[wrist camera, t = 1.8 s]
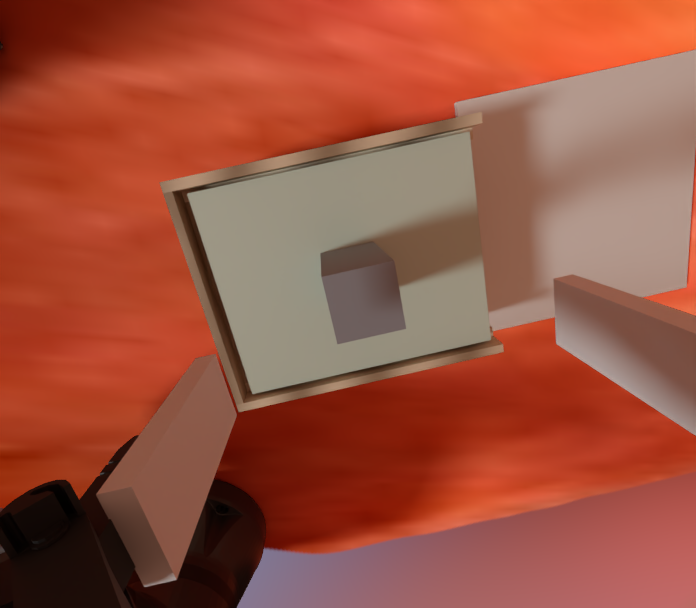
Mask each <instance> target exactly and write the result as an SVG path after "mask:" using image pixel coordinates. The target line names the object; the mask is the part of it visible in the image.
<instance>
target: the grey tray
mask: <svg viewBox="0 0 696 608" xmlns="http://www.w3.org/2000/svg"><path fill="white" fill-rule="evenodd" d="M454 107H455V116H456V117H461V116H465V115H470V114H474V113H479V112H482V122H483V123H482V124H479V125H477V126H474V127H472V131H473V139H472V140H471V148H472V158H473V168H474V178H475V187H476V197H477V207H478V217H479V226H480V236H481V246H482V255H483V265H484V275H485V285H486V294H487V304H488V314H489V324H490V326H491V327H492V330H493V331H496V330H500V329H505V328H509V327H514V326H518V325H522V324H527V323H531V322H536V321H540V320H544V319H549V318H553V317H555V306H554V283H553V279H554V278H558V277H563V276H567V275H572V274H574V275H577V276H580V277H583V278H585V279H588V280H591V281H594V282H597V283H600V284H603V285H606V286H609V287H612V288H615V289H618V290H621V291H624V292H627V293H630V294H633V295H636V296H638V297H646V296H650V295H655V294H659V293H663V292H668V291H672V290H677V289H681V288H685V287H687V272H688V257H689V242H690V226H691V211H692V195H693V180H694V165H695V149H696V50H692V51H688V52H683V53H679V54H674V55H669V56H665V57H660V58H656V59H651V60H647V61H642V62H637V63H633V64H628V65H624V66H619V67H615V68H610V69H606V70H601V71H596V72H592V73H587V74H583V75H578V76H574V77H569V78H564V79H560V80H555V81H551V82H546V83H542V84H537V85H532V86H528V87H523V88H519V89H514V90H510V91H505V92H500V93H496V94H491V95H487V96H482V97H478V98H473V99H468V100H464V101H459V102H456V103H454Z"/></svg>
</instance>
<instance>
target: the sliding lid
mask: <svg viewBox="0 0 696 608" xmlns="http://www.w3.org/2000/svg"><path fill="white" fill-rule="evenodd" d="M187 196H188V199H189V202H190V205H191V208H192V211H193V214H194V217H195V221H196V224H197V227H198V230H199V233H200V236H201V239H202V242H203V245H204V248H205V251H206V254H207V257H208V260H209V263H210V266H211V269H212V273H213V276H214V279H215V282H216V285H217V288H218V291H219V294H220V297H221V300H222V303H223V306H224V309H225V312H226V315H227V318H228V321H229V325H230V328H231V331H232V334H233V337H234V340H235V343H236V346H237V349H238V352H239V355H240V358H241V361H242V364H243V367H244V370H245V373H246V377H247V380H248V383H249V386H250V389H251V392H252V394H256V393H260V392H264V391H269V390H273V389H278V388H282V387H286V386H291V385H295V384H299V383H304V382H308V381H313V380H317V379H321V378H326V377H330V376H335V375H339V374H343V373H348V372H352V371H357V370H361V369H365V368H370V367H374V366H379V365H383V364H387V363H392V362H396V361H401V360H405V359H409V358H414V357H418V356H423V355H427V354H431V353H436V352H440V351H445V350H449V349H453V348H458V347H462V346H467V345H471V344H475V343H480V342H484V341H489V340H491V335H490V325H489V315H488V306H487V296H486V286H485V277H484V267H483V257H482V247H481V238H480V228H479V218H478V208H477V199H476V189H475V179H474V170H473V160H472V150H471V140H470V131H469V132H465V133H460V134H456V135H451V136H446V137H442V138H437V139H433V140H428V141H424V142H419V143H415V144H410V145H406V146H401V147H396V148H392V149H387V150H383V151H378V152H374V153H369V154H365V155H360V156H356V157H351V158H346V159H342V160H337V161H333V162H328V163H324V164H319V165H315V166H310V167H306V168H301V169H296V170H292V171H287V172H283V173H278V174H274V175H269V176H265V177H260V178H256V179H251V180H246V181H242V182H237V183H233V184H228V185H224V186H219V187H215V188H210V189H206V190H201V191H196V192H192V193H187Z"/></svg>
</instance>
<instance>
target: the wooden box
mask: <svg viewBox="0 0 696 608" xmlns="http://www.w3.org/2000/svg"><path fill="white" fill-rule="evenodd" d="M482 123H483V122H482V112H479V113H474V114H470V115H465V116H461V117H456V118H451V119H447V120H442V121H438V122H433V123H429V124H424V125H420V126H415V127H410V128H406V129H401V130H397V131H392V132H388V133H383V134H379V135H374V136H369V137H365V138H360V139H356V140H351V141H347V142H342V143H338V144H333V145H328V146H324V147H319V148H315V149H310V150H306V151H301V152H297V153H292V154H287V155H283V156H278V157H274V158H269V159H265V160H260V161H256V162H251V163H246V164H242V165H237V166H233V167H228V168H224V169H219V170H214V171H210V172H205V173H201V174H196V175H192V176H187V177H183V178H178V179H173V180H169V181H164V182H160V186H161V189H162V191H163V194H164V197H165V200H166V203H167V206H168V209H169V212H170V215H171V218H172V220H173V223H174V226H175V229H176V232H177V235H178V238H179V241H180V244H181V246H182V249H183V252H184V255H185V258H186V261H187V264H188V267H189V270H190V273H191V275H192V278H193V281H194V284H195V287H196V290H197V293H198V296H199V299H200V302H201V304H202V307H203V310H204V313H205V316H206V319H207V322H208V325H209V328H210V330H211V333H212V336H213V339H214V342H215V345H216V348H217V351H218V354H219V357H220V359H221V362H222V365H223V368H224V371H225V374H226V377H227V380H228V383H229V386H230V388H231V391H232V394H233V397H234V400H235V403H236V406H237V409H238V412H243V411H247V410H251V409H256V408H260V407H264V406H269V405H273V404H278V403H282V402H286V401H291V400H295V399H300V398H304V397H308V396H313V395H317V394H322V393H326V392H330V391H335V390H339V389H343V388H348V387H352V386H357V385H361V384H365V383H370V382H374V381H379V380H383V379H387V378H392V377H396V376H400V375H405V374H409V373H414V372H418V371H422V370H427V369H431V368H436V367H440V366H444V365H449V364H453V363H458V362H462V361H466V360H471V359H475V358H479V357H484V356H488V355H493V354H497V353H501V352H504V349H503V344H502V343H501V342H500V341H499V340H497V339H496V338H495V337H494V336H493V330H492V327H491V326H490V335H491V340H489V341H484V342H480V343H475V344H471V345H467V346H462V347H458V348H453V349H449V350H445V351H440V352H436V353H431V354H427V355H423V356H418V357H414V358H409V359H405V360H401V361H396V362H392V363H387V364H383V365H379V366H374V367H370V368H365V369H361V370H357V371H352V372H348V373H343V374H339V375H335V376H330V377H326V378H321V379H317V380H313V381H308V382H304V383H299V384H295V385H291V386H286V387H282V388H278V389H273V390H269V391H264V392H260V393H256V394H252V392H251V389H250V386H249V383H248V380H247V377H246V373H245V370H244V367H243V364H242V361H241V358H240V355H239V352H238V349H237V346H236V343H235V340H234V337H233V334H232V331H231V328H230V325H229V321H228V318H227V315H226V312H225V309H224V306H223V303H222V300H221V297H220V294H219V291H218V288H217V285H216V282H215V279H214V276H213V273H212V269H211V266H210V263H209V260H208V257H207V254H206V251H205V248H204V245H203V242H202V239H201V236H200V233H199V230H198V227H197V224H196V221H195V217H194V214H193V211H192V208H191V205H190V202H189V199H188V196H187V193H192V192H196V191H201V190H206V189H210V188H215V187H219V186H224V185H228V184H233V183H237V182H242V181H246V180H251V179H256V178H260V177H265V176H269V175H274V174H278V173H283V172H287V171H292V170H296V169H301V168H306V167H310V166H315V165H319V164H324V163H328V162H333V161H337V160H342V159H346V158H351V157H356V156H360V155H365V154H369V153H374V152H378V151H383V150H387V149H392V148H396V147H401V146H406V145H410V144H415V143H419V142H424V141H428V140H433V139H437V138H442V137H446V136H451V135H456V134H460V133H465V132H469V131H470V140H472V139H473V131H472V127H474V126H477V125H479V124H482ZM471 150H472V148H471ZM472 160H473V158H472ZM473 170H474V168H473ZM474 179H475V178H474ZM475 189H476V187H475ZM476 199H477V197H476ZM477 208H478V207H477ZM478 218H479V217H478ZM479 228H480V226H479ZM480 238H481V236H480ZM481 247H482V246H481ZM482 257H483V255H482ZM483 267H484V265H483ZM484 277H485V275H484ZM485 286H486V285H485ZM486 296H487V294H486ZM487 306H488V304H487ZM488 315H489V314H488ZM489 325H490V324H489Z"/></svg>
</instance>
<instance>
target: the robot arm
mask: <svg viewBox="0 0 696 608" xmlns="http://www.w3.org/2000/svg"><path fill="white" fill-rule="evenodd" d="M553 283H554V306H555V329H556V344H557V345H559V346H560V347H562V348H563V349H565V350H566V351H568V352H569V353H571V354H572V355H574V356H575V357H577V358H578V359H580V360H581V361H583V362H584V363H586V364H587V365H589V366H591V367H592V368H594V369H595V370H597V371H598V372H600V373H601V374H603V375H604V376H606V377H607V378H609V379H610V380H612V381H613V382H615V383H616V384H618V385H619V386H621V387H622V388H624V389H625V390H627V391H628V392H630V393H632V394H633V395H635V396H636V397H638V398H639V399H641V400H642V401H644V402H645V403H647V404H648V405H650V406H651V407H653V408H654V409H656V410H657V411H659V412H660V413H662V414H663V415H665V416H666V417H668V418H669V419H671V420H672V421H674V422H676V423H677V424H679V425H680V426H682V427H683V428H685V429H686V430H688V431H689V432H691V433H692V434H694V435H695V436H696V316H694V315H691V314H689V313H686V312H683V311H680V310H677V309H674V308H671V307H668V306H665V305H662V304H659V303H656V302H653V301H650V300H647V299H644V298H641V297H638V296H636V295H633V294H630V293H627V292H624V291H621V290H618V289H615V288H612V287H609V286H606V285H603V284H600V283H597V282H594V281H591V280H588V279H585V278H583V277H580V276H577V275H574V274H572V275H567V276H563V277H558V278H554V279H553ZM236 417H237V414H236V411H235V408H234V405H233V402H232V400H231V397H230V394H229V391H228V388H227V385H226V382H225V380H224V377H223V374H222V371H221V368H220V365H219V362H218V360H217V357H216V354H213V355H209V356H204V357H200V358H196V359H195V360H194V361H193V363H192V364H191V365H190V367H189V368H188V370H187V371H186V372H185V374H184V375H183V376H182V378H181V379H180V380H179V382H178V383H177V385H176V386H175V387H174V389H173V390H172V391H171V393H170V394H169V395H168V397H167V398H166V400H165V401H164V402H163V404H162V405H161V406H160V408H159V409H158V411H157V412H156V413H155V415H154V416H153V417H152V419H151V420H150V421H149V423H148V424H147V426H146V427H145V428H144V430H143V431H142V432H141V434H140V435H137V436H134V437H133V438H132V439H130V440H129V441H128V442H127V443H125V444H124V445H123V446H122V447H121V448H119V449H118V451H117V452H116V453H115V455H114V456H113V457H112V458H111V460H110V461H109V462H108V463H109V464H108V465H106V466H105V467H104V469H103V470H102V471H101V473H100V476H98V477H97V478H96V479H95V480H94V482H93V483H92V484H91V486H90V487H89V488H88V489H87V491H86V492H85V493H84V495H83V496H82V497H81V499H80V500H79V499H78V497H77V496H76V494H75V492H74V490H73V488H72V486H71V484H70V483H69V482H68V481H66V480H55V481H51V482H48V483H44V484H42V485H40V486H38V487H35V488H33V489H31V490H29V491H28V492H26V493H24V494H23V495H21V496H19V497H18V498H16V499H15V500H14V501H12V502H11V503H10V504H9V505H7V506H6V507H5V508H4V509H2V508H0V608H237V606H238V604H239V602H240V600H241V598H242V596H243V594H244V592H245V590H246V588H247V586H248V584H249V582H250V580H251V578H252V576H253V574H254V572H255V570H256V569H257V567H258V565H259V563H260V560H261V558H262V554H263V549H264V543H265V536H266V524H265V520H264V516H263V514H262V512H261V510H260V508H259V507H258V505H257V504H256V503H255V502H254V500H253V499H252V498H251V497H250V496H248V495H247V494H246V493H244V492H243V491H242V490H240V489H238V488H236V487H234V486H232V485H230V484H228V483H225V482H221V481H218V480H213V479H214V477H215V474H216V471H217V469H218V466H219V463H220V460H221V458H222V455H223V452H224V449H225V447H226V444H227V441H228V439H229V436H230V433H231V430H232V428H233V425H234V422H235V419H236Z"/></svg>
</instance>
